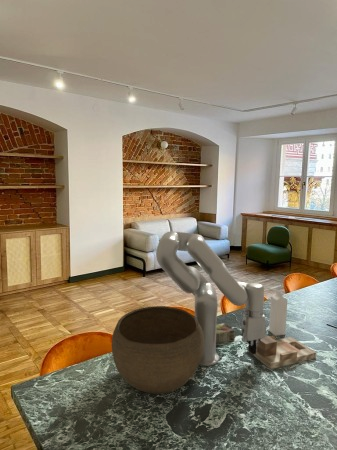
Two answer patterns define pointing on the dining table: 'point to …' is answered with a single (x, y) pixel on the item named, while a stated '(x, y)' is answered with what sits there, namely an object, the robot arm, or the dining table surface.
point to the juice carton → (224, 333)
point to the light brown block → (267, 346)
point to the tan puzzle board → (286, 353)
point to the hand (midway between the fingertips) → (252, 352)
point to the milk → (278, 314)
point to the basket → (157, 348)
